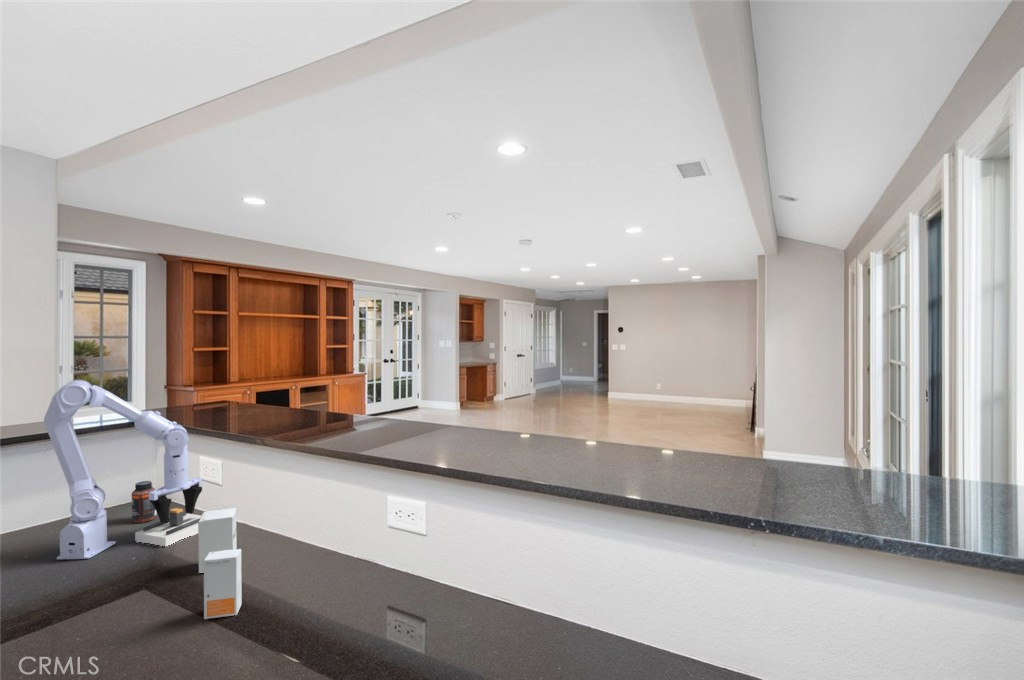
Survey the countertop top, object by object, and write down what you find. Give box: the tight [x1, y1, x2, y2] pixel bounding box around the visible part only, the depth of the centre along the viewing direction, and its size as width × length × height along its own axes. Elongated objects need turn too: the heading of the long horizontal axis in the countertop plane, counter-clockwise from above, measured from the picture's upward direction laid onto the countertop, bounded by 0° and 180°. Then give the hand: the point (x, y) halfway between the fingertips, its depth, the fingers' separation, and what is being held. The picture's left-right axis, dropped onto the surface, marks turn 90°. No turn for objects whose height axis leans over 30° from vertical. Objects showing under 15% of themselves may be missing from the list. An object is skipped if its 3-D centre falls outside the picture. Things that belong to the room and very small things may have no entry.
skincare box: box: [203, 548, 243, 620], centre depth 104 cm, size 6×4×12 cm
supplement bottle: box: [131, 480, 157, 524], centre depth 154 cm, size 6×6×11 cm
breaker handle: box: [169, 507, 184, 526], centre depth 143 cm, size 2×3×4 cm, turn 72°
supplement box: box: [197, 507, 238, 574], centre depth 124 cm, size 7×7×13 cm
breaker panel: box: [134, 511, 202, 548], centre depth 143 cm, size 15×11×4 cm
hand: (177, 517), depth 144 cm, fingers open, 7 cm apart
